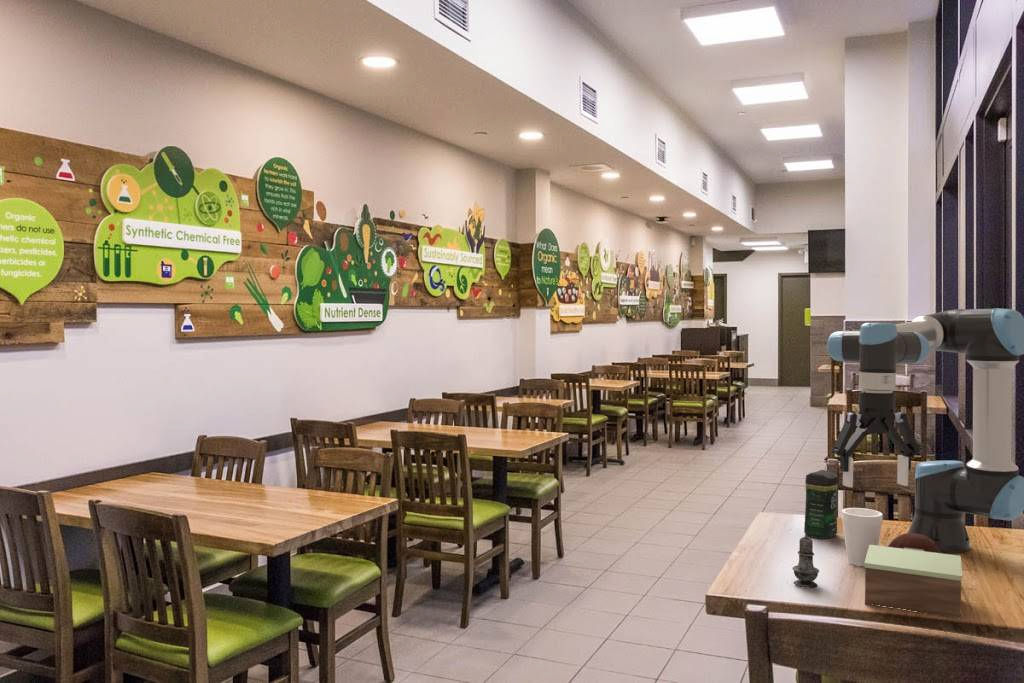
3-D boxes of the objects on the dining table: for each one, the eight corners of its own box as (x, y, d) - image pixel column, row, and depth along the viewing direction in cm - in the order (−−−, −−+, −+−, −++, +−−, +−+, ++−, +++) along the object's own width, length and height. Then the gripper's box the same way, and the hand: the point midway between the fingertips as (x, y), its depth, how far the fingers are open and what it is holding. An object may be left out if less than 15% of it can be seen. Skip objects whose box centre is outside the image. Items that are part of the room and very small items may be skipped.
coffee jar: (828, 541, 218) (828, 475, 218) (800, 535, 224) (801, 471, 223) (841, 534, 225) (842, 470, 225) (814, 529, 231) (814, 466, 230)
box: (960, 619, 161) (961, 580, 161) (864, 604, 169) (865, 567, 169) (959, 598, 173) (959, 562, 173) (869, 585, 182) (870, 551, 181)
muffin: (916, 586, 181) (917, 543, 181) (877, 572, 191) (877, 531, 191) (952, 580, 186) (952, 538, 185) (911, 566, 196) (912, 526, 196)
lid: (962, 583, 161) (962, 576, 160) (864, 570, 169) (864, 562, 169) (960, 561, 174) (960, 554, 174) (869, 549, 183) (869, 543, 183)
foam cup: (885, 570, 193) (886, 517, 193) (846, 567, 195) (846, 515, 194) (876, 558, 202) (876, 508, 202) (838, 556, 204) (838, 507, 204)
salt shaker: (816, 590, 178) (816, 538, 178) (789, 585, 181) (790, 534, 181) (821, 583, 183) (821, 532, 183) (795, 578, 186) (795, 528, 186)
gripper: (835, 393, 170) (834, 490, 170) (938, 392, 174) (936, 487, 174) (816, 390, 177) (815, 483, 178) (915, 389, 181) (913, 480, 182)
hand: (875, 485), depth 176 cm, fingers open, 13 cm apart
